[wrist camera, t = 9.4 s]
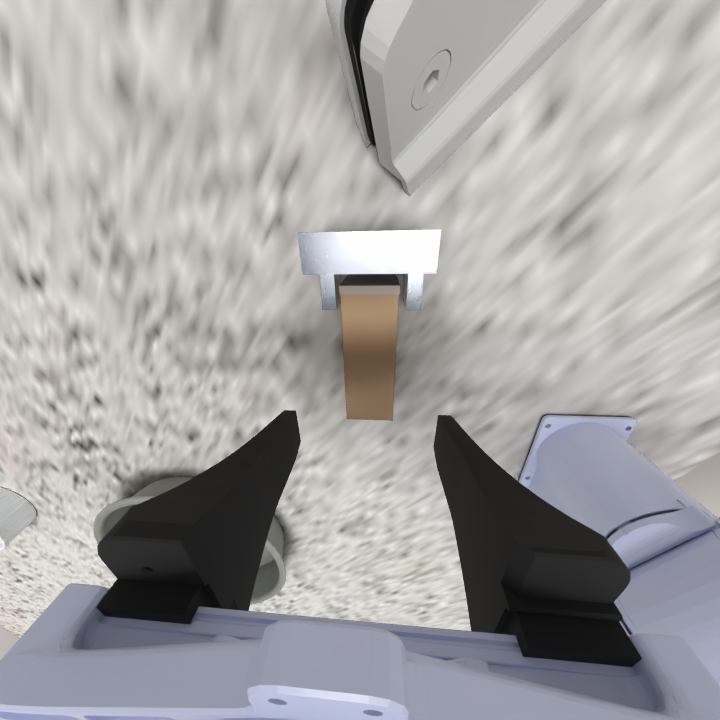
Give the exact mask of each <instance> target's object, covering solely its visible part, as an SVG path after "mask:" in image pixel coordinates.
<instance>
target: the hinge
mask: <svg viewBox="0 0 720 720" xmlns="http://www.w3.org/2000/svg"><path fill="white" fill-rule="evenodd" d="M605 1H606V0H326V7H327V11H328V15H329V19H330V23H331V27H332V30H333V34H334V38H335V42H336V46H337V50H338V53H339V57H340V61H341V65H342V69H343V73H344V77H345V80H346V84H347V88H348V92H349V96H350V100H351V103H352V107H353V111H354V115H355V119H356V123H357V126H358V129H359V132H360V134H361V136H362V138H363V141H364V143H365V145H366V147H368V146H369V144H370V143H372V144H373V146H374V145H375V143H376V147H377V152H378V158H379V163H380V164H381V165H382V166H383V167H384V168H386V169H387V170H388V171H389V172H391V173H392V174H393V175H394V176H395V177H397V178H398V179H399V180H400V181H401V182H402V186H403V189H404V191H405V192H406V193H407V194H408V195H409V196H410V195H411V194H412V193H413V192H414V191H415V190H416V189H417V188H418V187H419V186H420V185H421V184H422V183H423V182H424V181H425V180H426V179H427V178H428V177H429V176H430V175H431V174H432V173H433V172H434V171H435V170H436V169H437V168H438V167H439V166H440V165H441V164H442V163H443V162H444V161H445V160H446V159H447V158H448V157H449V156H450V155H451V154H452V153H453V152H454V151H455V150H456V149H457V148H458V147H459V146H460V145H461V144H462V143H463V142H464V141H465V140H466V139H467V138H468V137H469V136H470V135H471V134H472V133H473V132H474V131H475V130H476V129H477V128H478V127H479V126H480V125H481V124H482V123H483V122H484V121H485V120H486V119H487V118H488V117H490V116H491V115H492V114H493V113H494V112H495V111H496V110H497V109H498V108H499V107H500V106H501V105H502V104H503V103H504V102H505V101H506V100H507V99H508V98H509V97H510V96H511V95H512V94H513V93H514V92H515V91H516V90H517V89H518V88H519V87H520V86H521V85H522V84H523V83H524V82H525V81H526V80H527V79H528V78H529V77H530V76H531V75H532V74H533V73H534V72H535V71H536V70H537V69H538V68H539V67H540V66H541V65H542V64H543V63H544V62H545V61H546V60H547V59H548V58H549V57H550V56H551V55H552V54H553V53H554V52H555V51H556V50H557V49H558V48H559V47H560V46H561V45H562V44H563V43H564V42H565V41H566V40H567V39H568V38H569V37H570V36H571V35H572V34H573V33H574V32H575V31H576V30H577V29H578V28H579V27H580V26H581V25H582V24H583V23H584V22H585V21H586V20H587V19H588V18H589V17H590V16H591V15H592V14H593V13H594V12H595V11H596V10H597V9H598V8H599V7H600V6H601V5H602V4H603V3H604V2H605Z"/></svg>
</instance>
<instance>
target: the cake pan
mask: <svg viewBox="0 0 720 720" xmlns="http://www.w3.org/2000/svg"><path fill="white" fill-rule="evenodd" d="M192 478H194V477H170V478H164V479H160V480H157V481H154V482H152V483H150V484H149V485H147V486H145V487H144V488H143V489H141V490H140V491H139V492H137V493H136V494H134V495H133V496H132V497H130V498H125V499H122V500H119V501H116V502H114V503H112V504H110V505H108V506H107V507H106V508H104V509H103V510H102V511H101V512H100V513H99V514H98V515H97V517H96V519H95V522H94V535H95V538H96V541H97V543H98V544H99V542H100V541H101V540H102V538H103V537H104V536H105V535H106V534H107V533H108V532H109V531H110V530H111V529H112V528H113V526H114V525H115V524H116V523H117V522H118V521H119V520H120V519H121V518H122V517H123V515H124V514H125V513H126V512H127V511H128V510H129V509H130V508H131V507H132V506H135V505H137V504H140V503H142V502H144V501H146V500H149V499H151V498H153V497H156V496H158V495H160V494H162V493H164V492H167V491H169V490H171V489H173V488H175V487H177V486H179V485H181V484H183V483H185V482H187V481H188V480H190V479H192ZM283 547H284V534H283V531H282V528H281V526H280V524H279V522H278V521H277V519H276V518H275V517H273V520H272V523H271V526H270V530H269V533H268V537H267V540H266V544H265V547H264V551H263V554H262V558H261V562H260V566H259V570H258V574H257V577H256V581H255V585H254V590H253V594H252V598H251V602H250V605H251V604H256V603H260V602H262V601H265V600H267V599H269V598H271V597H273V596H274V595H276V594H277V593H278V592H279V591H280V590H281V589H282V587H283V585H284V583H285V581H286V568H285V564H284V561H283V559H282V556H283Z"/></svg>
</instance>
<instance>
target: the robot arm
mask: <svg viewBox="0 0 720 720" xmlns="http://www.w3.org/2000/svg"><path fill="white" fill-rule="evenodd" d="M546 424H548V425H546ZM636 424H637V421H636V420H634V419H633V418H630V417H598V416H564V415H546V416H544V417H543V418H542V420H541V423H540V426H539V428H538V431H537V434H536V436H535V439H534V442H533V444H532V447H531V450H530V453H529V455H528V458H527V461H526V463H525V466H524V469H523V471H522V474H521V477H520V479H519V482H518V481H517V480H515V479H514V478H513V477H512V476H511V475H509V474H508V473H507V472H506V471H505V470H503V469H502V468H501V467H500V466H499V465H498V464H496V463H495V462H494V461H493V460H492V459H491V458H490V457H489V456H488V455H487V454H486V453H485V452H484V451H483V450H482V449H481V448H480V447H479V446H478V445H477V444H476V443H475V442H474V441H473V440H472V439H471V438H470V437H469V435H468V434H467V433H466V432H465V431H464V430H463V429H462V428H461V426H460V425H459V424H458V423H457V422H456V421H455V420H454V418H453V417H452V416H449V415H438V420H437V427H436V434H435V441H434V451H435V458H436V463H437V468H438V471H439V475H440V478H441V482H442V485H443V488H444V492H445V495H446V499H447V502H448V505H449V509H450V512H451V516H452V520H453V525H454V530H455V535H456V540H457V546H458V551H459V557H460V562H461V568H462V574H463V580H464V586H465V592H466V598H467V605H468V611H469V618H470V625H471V631H462V630H451V629H440V628H429V627H418V626H407V625H396V624H385V623H374V622H363V621H352V620H341V619H330V618H319V617H308V616H297V615H286V614H275V613H264V612H253V611H249V606H250V602H251V598H252V594H253V590H254V585H255V581H256V577H257V574H258V570H259V566H260V562H261V558H262V554H263V551H264V547H265V544H266V540H267V537H268V533H269V530H270V526H271V523H272V520H273V517H274V513H275V510H276V507H277V505H278V502H279V499H280V497H281V494H282V492H283V490H284V487H285V485H286V482H287V480H288V477H289V475H290V473H291V470H292V468H293V465H294V463H295V460H296V457H297V453H298V449H299V446H300V442H301V440H300V434H299V427H298V421H297V415H296V411H288V410H284V411H283V412H282V413H281V414H280V415H278V416H277V417H276V418H275V419H274V420H273V421H272V422H271V423H270V424H268V425H267V426H266V427H265V428H264V429H263V430H262V431H260V432H259V433H258V434H257V435H256V436H254V437H253V438H252V439H251V440H249V441H248V442H247V443H246V444H244V445H243V446H242V447H241V448H239V449H238V450H237V451H235V452H234V453H232V454H231V455H230V456H228V457H227V458H225V459H224V460H222V461H221V462H219V463H218V464H216V465H214V466H213V467H211V468H209V469H208V470H206V471H204V472H203V473H201V474H199V475H198V476H196V477H194V478H192V479H190V480H188V481H187V482H185V483H183V484H181V485H179V486H177V487H175V488H173V489H171V490H169V491H167V492H164V493H162V494H160V495H158V496H156V497H153V498H151V499H149V500H146V501H144V502H142V503H140V504H137V505H135V506H132V507H131V508H130V509H129V510H128V511H127V512H126V513H125V514H124V515H123V517H122V518H121V519H120V520H119V521H118V522H117V523H116V524H115V525H114V526H113V528H112V529H111V530H110V531H109V532H108V533H107V534H106V535H105V536H104V537H103V538H102V540H101V541H100V542H99V544H98V546H97V547H98V555H99V556H100V558H101V559H102V561H103V562H104V563H105V564H106V565H107V567H108V568H109V569H110V570H111V571H112V573H113V574H114V575H115V576H116V577H117V580H116V582H115V583H114V584H113V586H112V587H111V588H110V590H109V589H108V588H105V587H103V586H98V585H87V584H75V583H71V584H69V585H67V586H66V588H65V589H64V590H63V591H62V592H61V593H60V594H59V595H58V597H57V598H56V599H55V600H54V601H53V602H52V603H51V604H50V605H49V607H48V608H47V609H46V610H45V611H44V612H43V613H42V614H41V616H40V617H39V618H38V619H37V620H36V621H35V622H34V623H33V625H32V626H31V627H30V628H29V629H28V630H27V631H26V632H25V633H24V635H23V636H22V637H21V638H20V639H19V640H18V642H16V644H15V645H14V646H13V647H12V648H11V649H10V650H9V652H8V653H7V654H6V655H5V656H4V657H3V658H2V660H0V720H720V517H717V516H715V515H714V514H712V513H711V512H710V511H709V510H708V509H707V508H705V507H704V506H703V505H702V504H700V503H699V502H698V501H697V500H696V499H695V498H693V497H692V496H691V495H690V494H689V493H688V492H686V491H685V490H684V489H683V488H682V487H680V486H679V485H678V484H677V483H676V482H674V481H673V480H672V479H671V478H670V477H668V476H667V475H666V474H665V473H664V472H663V471H661V470H660V469H659V468H658V467H657V466H655V465H654V464H653V463H652V462H651V461H649V460H648V459H647V458H646V457H645V456H643V455H642V454H641V453H640V452H639V451H638V450H636V449H635V448H634V447H633V446H632V445H630V444H629V443H628V442H627V440H628V438H629V436H630V434H631V433H632V431H633V429H634V428H635V426H636ZM526 487H528V488H530V489H531V491H530V490H529V489H527V488H526Z"/></svg>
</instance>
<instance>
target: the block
mask: <svg viewBox="0 0 720 720" xmlns="http://www.w3.org/2000/svg"><path fill="white" fill-rule="evenodd" d="M339 294H341V314H342V333H343V353H344V373H345V393H346V412H347V419H365V420H393V402H394V382H395V361H396V341H397V321H398V300H399V294H400V284H399V281H398V278H397V276H396V274H348V275H347V277H346V278H345V279H344V280H343V282H342V283H341V284H340V285H339Z"/></svg>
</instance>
